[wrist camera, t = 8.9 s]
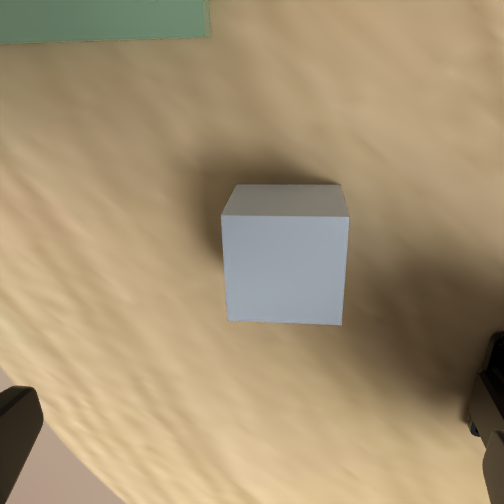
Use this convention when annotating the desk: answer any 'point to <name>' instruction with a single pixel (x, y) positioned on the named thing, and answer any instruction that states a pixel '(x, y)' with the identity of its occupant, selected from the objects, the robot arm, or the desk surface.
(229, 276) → the grey cube
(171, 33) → the baseplate
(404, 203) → the desk surface
